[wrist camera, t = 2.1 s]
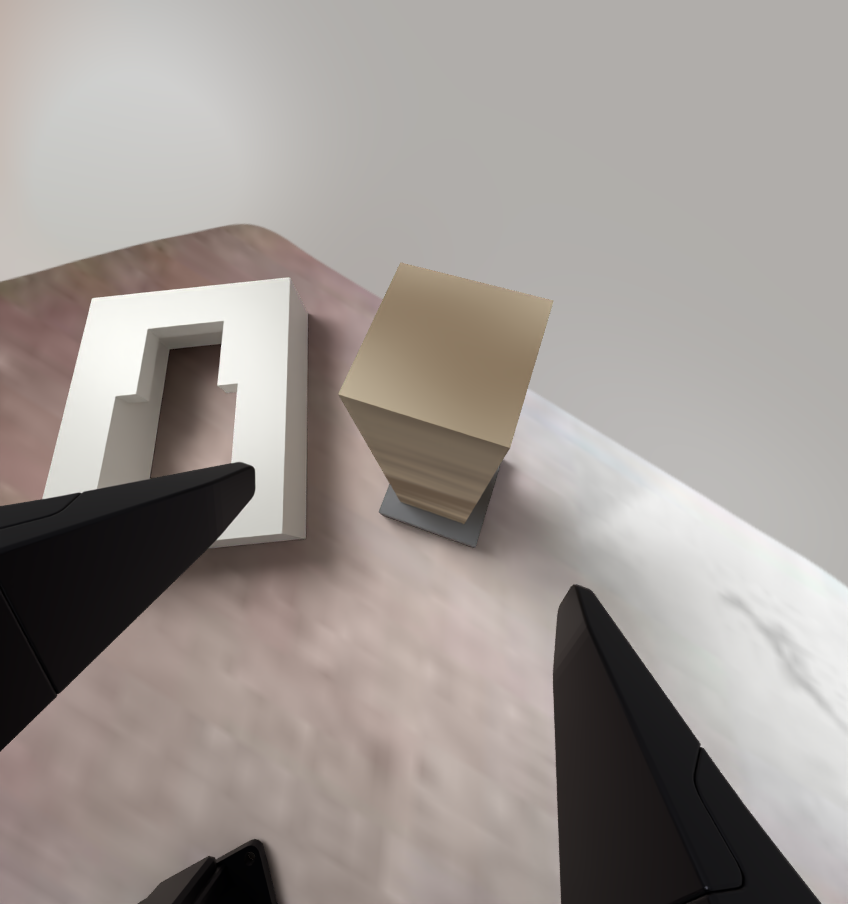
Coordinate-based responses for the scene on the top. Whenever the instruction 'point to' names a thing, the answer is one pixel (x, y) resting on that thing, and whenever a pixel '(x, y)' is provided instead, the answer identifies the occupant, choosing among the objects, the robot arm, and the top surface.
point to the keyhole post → (443, 393)
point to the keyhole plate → (241, 370)
